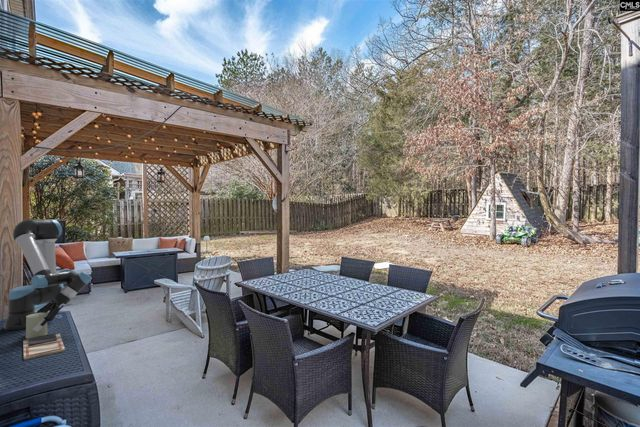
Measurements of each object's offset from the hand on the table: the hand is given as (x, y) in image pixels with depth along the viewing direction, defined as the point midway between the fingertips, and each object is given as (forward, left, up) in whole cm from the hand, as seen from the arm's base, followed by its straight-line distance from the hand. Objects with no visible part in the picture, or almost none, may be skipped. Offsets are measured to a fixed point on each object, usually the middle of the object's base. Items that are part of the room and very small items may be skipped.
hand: (31, 327), depth 175 cm
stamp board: (+8, +20, -5) cm, 22 cm away
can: (-2, +1, -5) cm, 6 cm away
